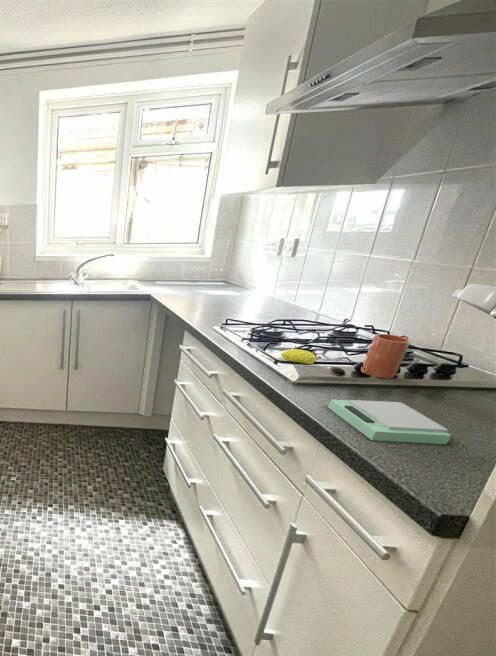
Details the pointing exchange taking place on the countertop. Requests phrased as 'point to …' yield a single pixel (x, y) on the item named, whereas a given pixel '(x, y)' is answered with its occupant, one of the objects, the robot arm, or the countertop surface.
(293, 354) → the lemon
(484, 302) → the robot arm
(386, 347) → the orange mug
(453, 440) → the countertop surface
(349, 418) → the scale
